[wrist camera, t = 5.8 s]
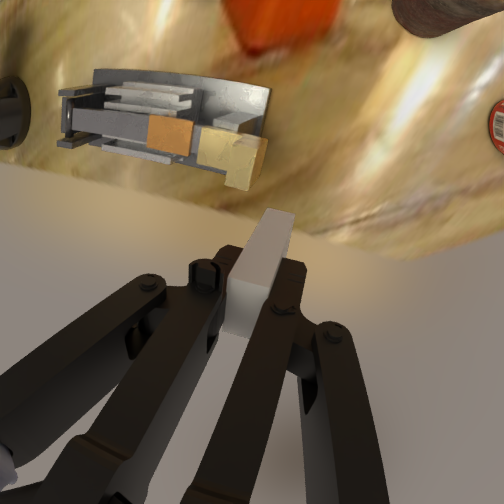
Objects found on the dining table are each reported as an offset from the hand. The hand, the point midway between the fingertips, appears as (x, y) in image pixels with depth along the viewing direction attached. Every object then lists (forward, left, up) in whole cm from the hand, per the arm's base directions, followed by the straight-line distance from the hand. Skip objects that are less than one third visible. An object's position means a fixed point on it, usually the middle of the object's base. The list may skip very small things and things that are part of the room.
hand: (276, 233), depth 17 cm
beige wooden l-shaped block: (-6, 0, -13) cm, 15 cm away
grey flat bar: (-20, 0, -15) cm, 25 cm away
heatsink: (-19, 0, -24) cm, 30 cm away
